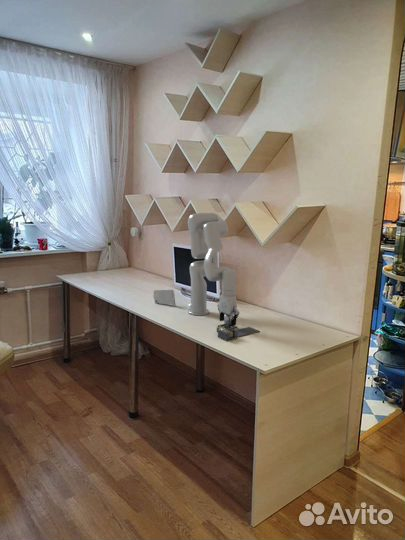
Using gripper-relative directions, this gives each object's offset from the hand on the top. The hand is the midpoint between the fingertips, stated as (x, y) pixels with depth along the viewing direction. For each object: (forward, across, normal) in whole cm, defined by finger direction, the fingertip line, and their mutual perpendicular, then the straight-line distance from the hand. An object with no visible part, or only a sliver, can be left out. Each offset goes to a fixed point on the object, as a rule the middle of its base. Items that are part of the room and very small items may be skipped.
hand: (227, 322), depth 222 cm
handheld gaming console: (+3, -58, -5) cm, 58 cm away
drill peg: (+2, 0, 0) cm, 2 cm away
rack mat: (+2, +11, +2) cm, 11 cm away
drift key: (+1, +10, -11) cm, 15 cm away
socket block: (+2, +12, -10) cm, 17 cm away
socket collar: (+2, 0, 0) cm, 2 cm away
